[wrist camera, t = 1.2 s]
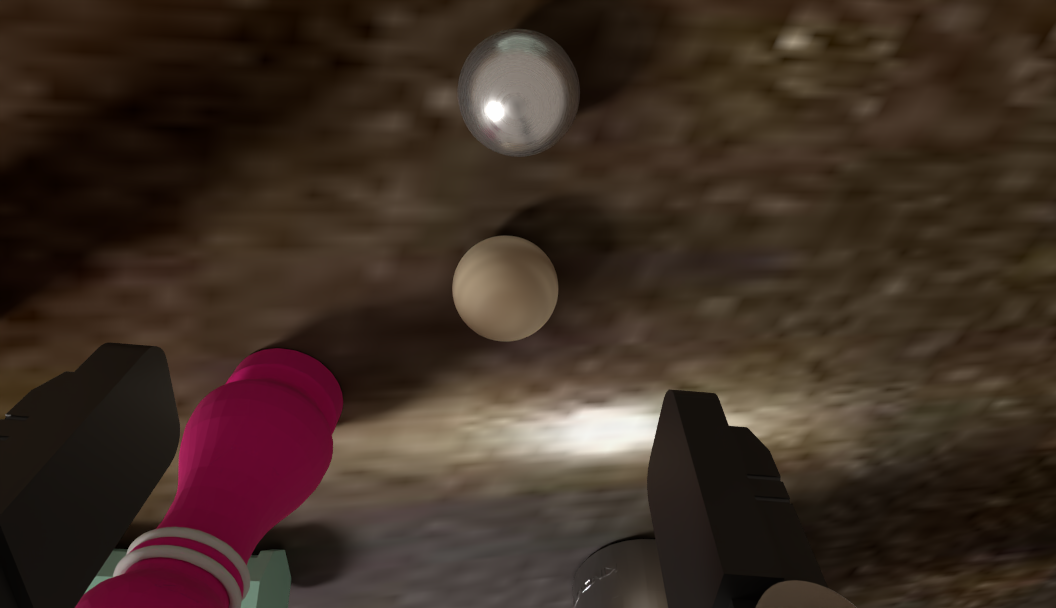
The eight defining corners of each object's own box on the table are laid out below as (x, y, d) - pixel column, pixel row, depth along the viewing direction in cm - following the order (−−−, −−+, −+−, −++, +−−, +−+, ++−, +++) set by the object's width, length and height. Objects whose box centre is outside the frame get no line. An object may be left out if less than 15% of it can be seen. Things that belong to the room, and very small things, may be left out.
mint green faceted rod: (-148, 648, 42) (254, 669, 41) (-156, 555, 42) (253, 574, 41) (-62, 596, 48) (292, 614, 47) (-68, 515, 48) (291, 531, 47)
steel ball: (601, 68, 30) (609, 93, 26) (534, 159, 32) (530, 196, 28) (507, -5, 29) (499, 8, 25) (443, 94, 31) (425, 122, 27)
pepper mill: (364, 361, 38) (204, 735, 21) (339, 456, 41) (182, 847, 24) (233, 322, 37) (-53, 680, 20) (217, 423, 41) (-38, 804, 23)
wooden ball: (578, 256, 35) (581, 304, 30) (520, 325, 37) (515, 380, 32) (495, 199, 33) (486, 241, 29) (440, 274, 35) (424, 324, 31)
